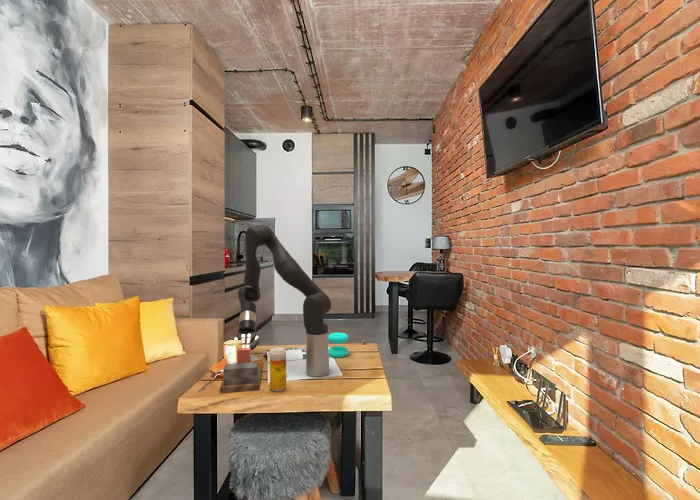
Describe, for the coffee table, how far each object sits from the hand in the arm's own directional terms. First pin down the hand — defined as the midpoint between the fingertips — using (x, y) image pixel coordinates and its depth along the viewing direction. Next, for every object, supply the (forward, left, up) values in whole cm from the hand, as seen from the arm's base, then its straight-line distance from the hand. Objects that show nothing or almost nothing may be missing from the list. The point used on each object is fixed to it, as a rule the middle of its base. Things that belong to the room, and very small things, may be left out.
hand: (245, 358), depth 157 cm
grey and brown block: (0, +10, -6) cm, 12 cm away
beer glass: (-14, +20, -6) cm, 25 cm away
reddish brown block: (0, +4, -4) cm, 5 cm away
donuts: (-42, -15, -6) cm, 45 cm away
